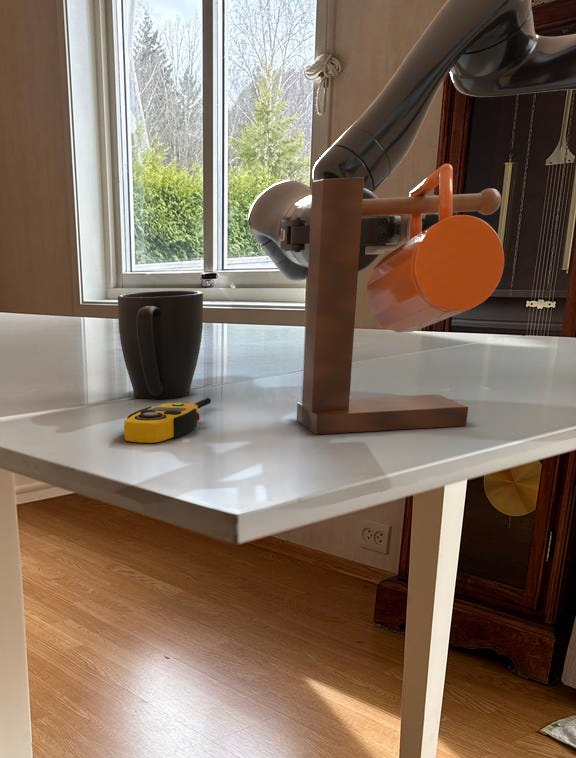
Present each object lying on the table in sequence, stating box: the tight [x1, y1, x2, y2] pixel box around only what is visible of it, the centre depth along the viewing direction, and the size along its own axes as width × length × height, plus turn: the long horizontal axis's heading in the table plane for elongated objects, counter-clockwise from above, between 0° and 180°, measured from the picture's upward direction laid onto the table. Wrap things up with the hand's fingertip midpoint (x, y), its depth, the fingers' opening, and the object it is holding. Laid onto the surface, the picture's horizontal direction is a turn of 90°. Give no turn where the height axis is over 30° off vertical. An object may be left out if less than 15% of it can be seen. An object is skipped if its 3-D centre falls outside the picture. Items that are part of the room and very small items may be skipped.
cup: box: [366, 163, 505, 333], centre depth 67 cm, size 10×6×10 cm
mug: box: [117, 290, 204, 400], centre depth 88 cm, size 8×12×10 cm
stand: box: [296, 177, 502, 435], centre depth 71 cm, size 14×6×18 cm, turn 93°
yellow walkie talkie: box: [123, 397, 212, 444], centre depth 77 cm, size 5×2×15 cm
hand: (394, 231), depth 74 cm, fingers open, 8 cm apart
